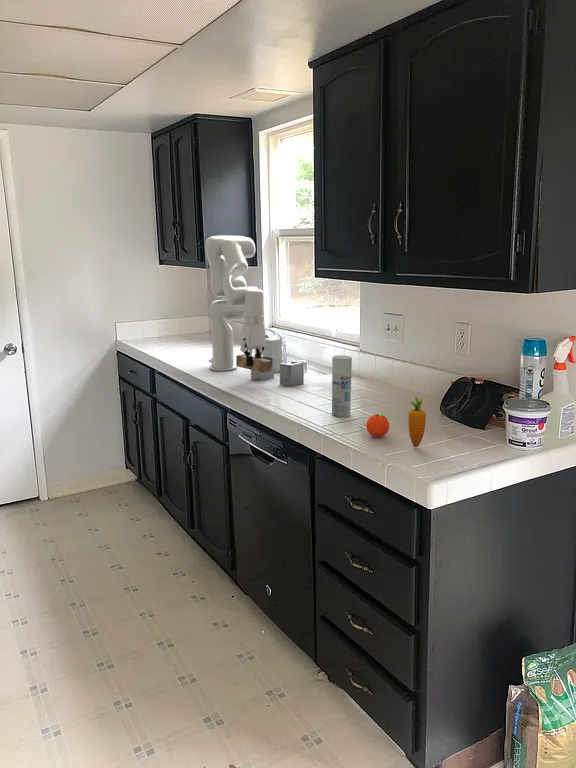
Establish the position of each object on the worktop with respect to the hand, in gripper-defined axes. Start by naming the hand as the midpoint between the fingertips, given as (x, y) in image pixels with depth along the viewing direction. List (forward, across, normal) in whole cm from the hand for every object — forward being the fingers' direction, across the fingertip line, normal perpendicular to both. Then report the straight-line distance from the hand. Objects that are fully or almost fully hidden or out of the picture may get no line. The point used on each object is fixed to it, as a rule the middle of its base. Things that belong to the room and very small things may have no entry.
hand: (253, 364), depth 264 cm
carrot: (+5, +26, +93) cm, 97 cm away
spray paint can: (+6, +12, +55) cm, 57 cm away
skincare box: (+10, -26, -15) cm, 32 cm away
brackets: (+9, -11, +2) cm, 15 cm away
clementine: (+5, +24, +79) cm, 83 cm away
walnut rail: (+2, 0, 0) cm, 2 cm away
